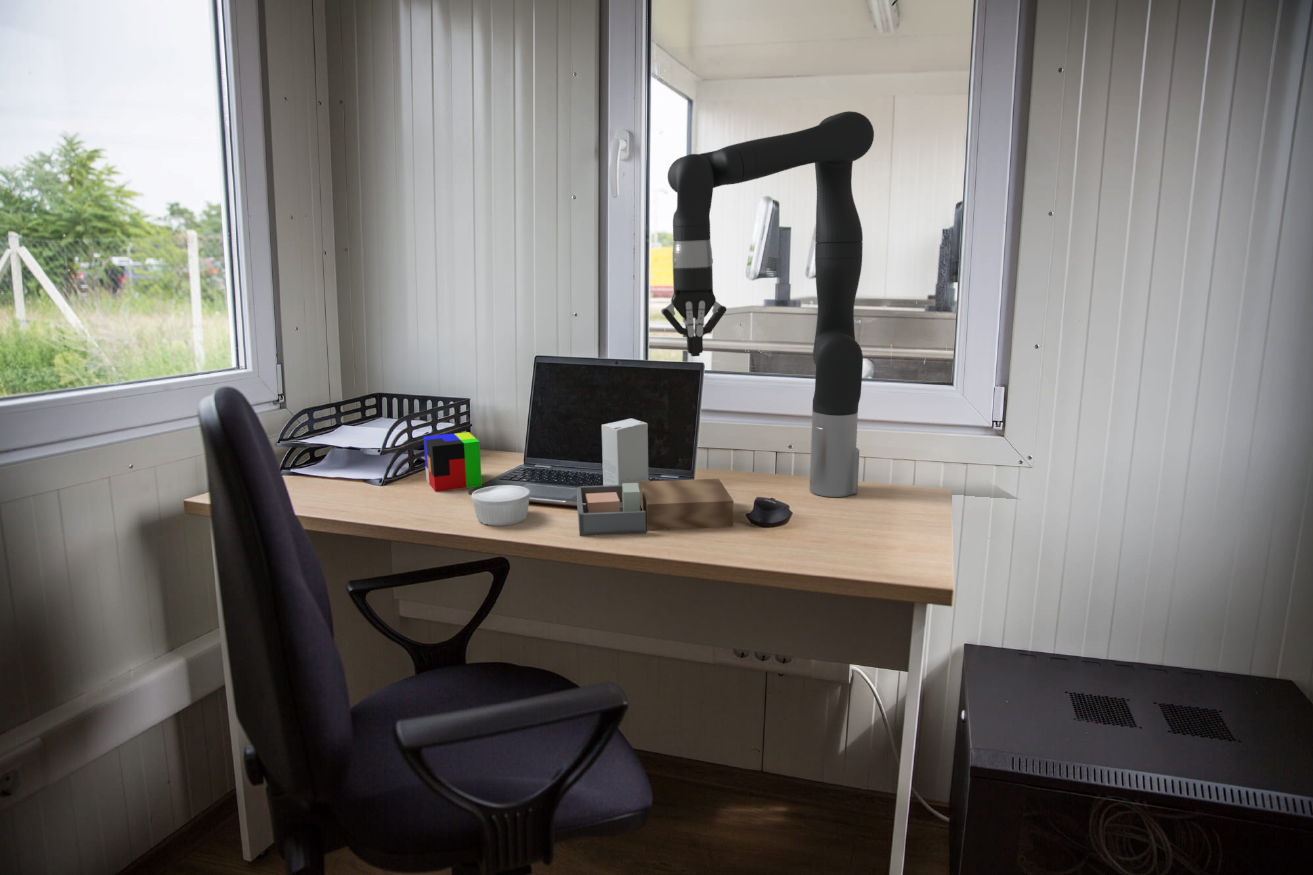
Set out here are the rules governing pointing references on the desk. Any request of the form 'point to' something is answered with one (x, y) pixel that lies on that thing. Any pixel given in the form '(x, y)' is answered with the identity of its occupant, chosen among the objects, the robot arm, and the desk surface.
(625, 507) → the sage tile
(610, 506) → the terracotta tile
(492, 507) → the ramekin
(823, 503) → the desk surface
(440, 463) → the puzzle toy
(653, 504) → the wooden riser block
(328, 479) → the desk surface
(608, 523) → the box
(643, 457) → the skincare box
